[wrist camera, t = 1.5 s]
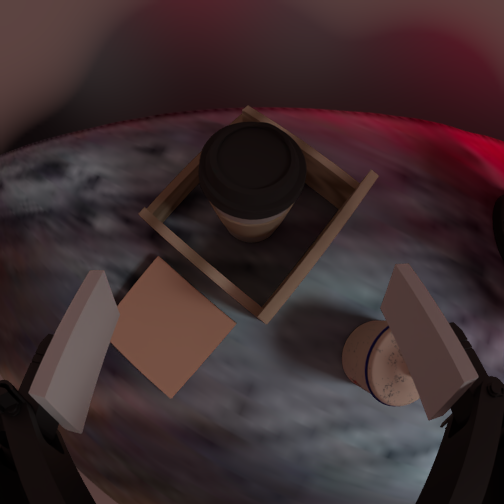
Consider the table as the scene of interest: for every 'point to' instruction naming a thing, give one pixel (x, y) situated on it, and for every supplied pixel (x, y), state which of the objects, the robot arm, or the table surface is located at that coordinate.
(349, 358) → the teacup with lid
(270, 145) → the coffee cup
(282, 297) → the frame
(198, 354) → the terracotta tile
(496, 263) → the table surface
